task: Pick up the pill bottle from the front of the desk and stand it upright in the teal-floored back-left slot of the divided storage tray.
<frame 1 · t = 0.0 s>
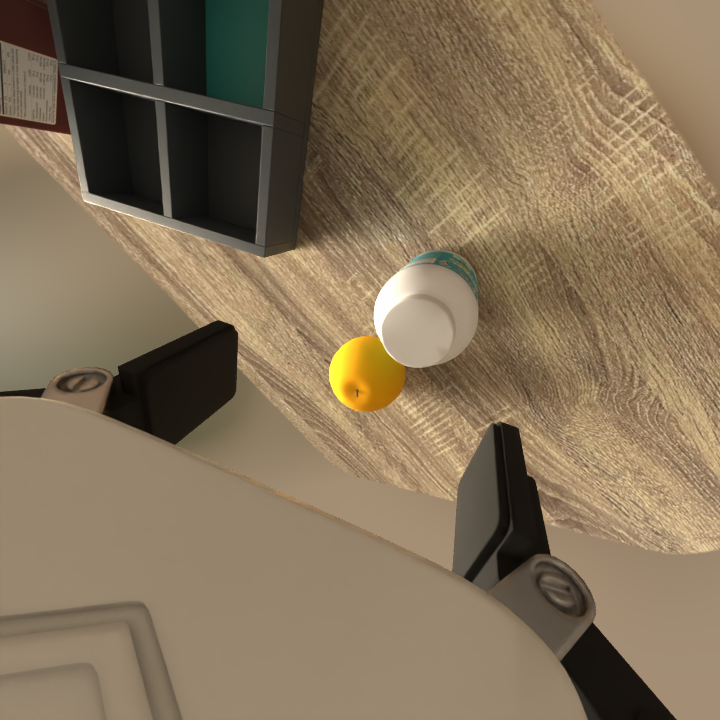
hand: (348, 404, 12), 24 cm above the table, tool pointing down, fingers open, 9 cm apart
pill bottle: (438, 286, 32), on the table
supplement box: (33, 45, 35), on the table
divided storage tray: (210, 109, 32), on the table
apple: (376, 359, 38), on the table
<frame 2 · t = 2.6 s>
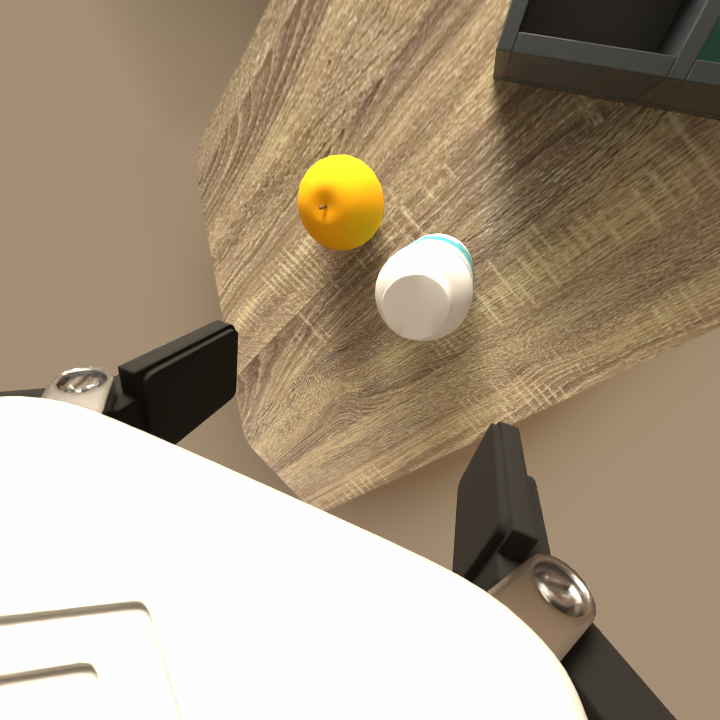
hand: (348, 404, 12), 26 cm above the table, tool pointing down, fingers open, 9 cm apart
pill bottle: (436, 271, 34), on the table
apple: (353, 204, 34), on the table
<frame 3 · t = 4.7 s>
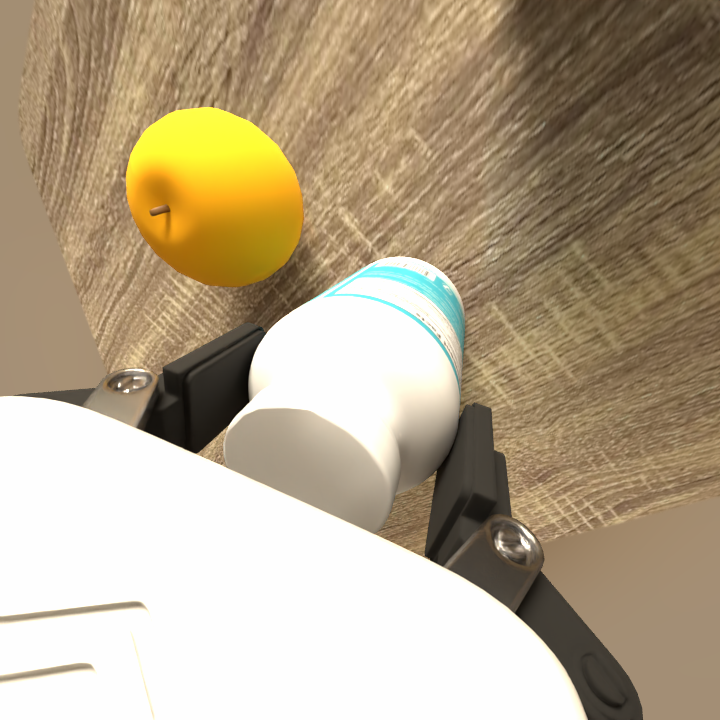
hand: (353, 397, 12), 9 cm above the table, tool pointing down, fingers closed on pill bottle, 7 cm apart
pill bottle: (403, 317, 20), on the table, touching gripper
apple: (263, 205, 20), on the table
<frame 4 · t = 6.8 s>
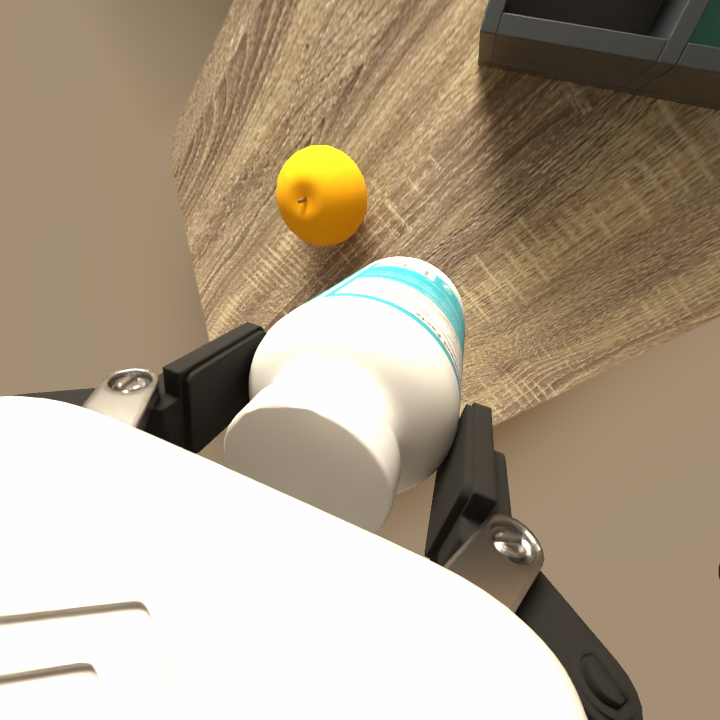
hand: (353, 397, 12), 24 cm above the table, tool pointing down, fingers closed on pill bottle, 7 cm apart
pill bottle: (403, 316, 20), point 15 cm above the table, touching gripper
apple: (336, 198, 32), on the table
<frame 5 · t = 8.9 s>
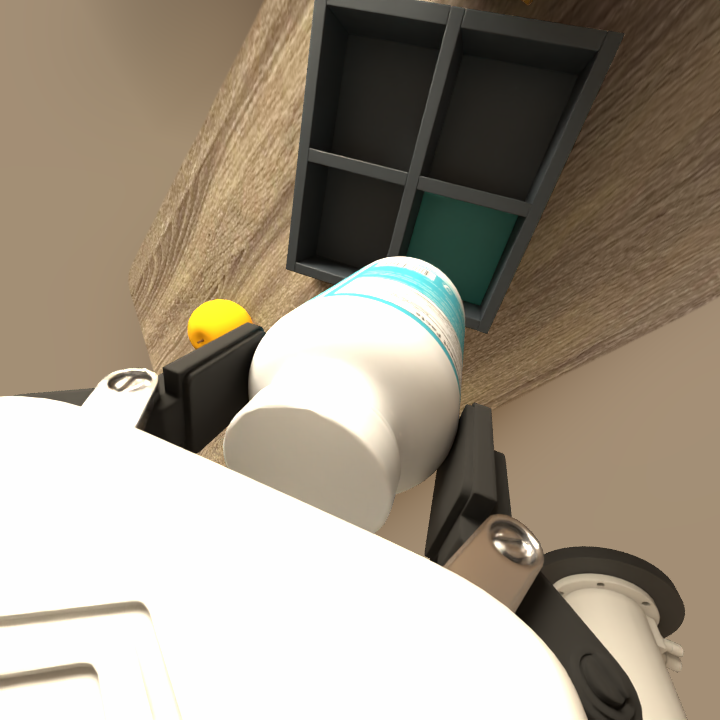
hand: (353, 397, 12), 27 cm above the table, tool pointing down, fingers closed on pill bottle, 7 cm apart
pill bottle: (403, 316, 20), point 18 cm above the table, touching gripper
divided storage tray: (422, 183, 32), on the table
apple: (238, 321, 47), on the table
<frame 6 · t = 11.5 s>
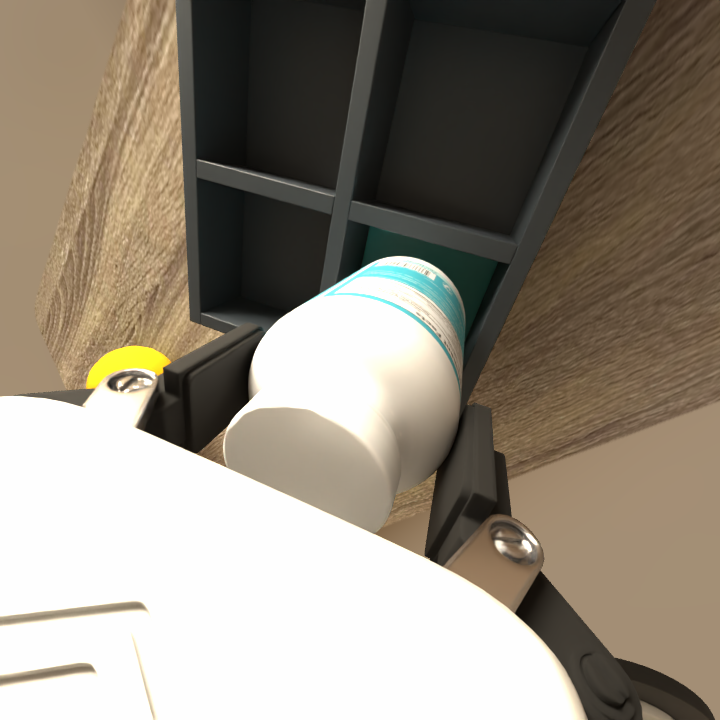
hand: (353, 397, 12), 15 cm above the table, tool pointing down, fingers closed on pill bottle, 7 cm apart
pill bottle: (403, 316, 20), point 6 cm above the table, touching gripper
divided storage tray: (370, 206, 23), on the table
apple: (164, 369, 38), on the table
when the fingers open (11 cm above the table, at t = 13.3 s): pill bottle stays where it is, resting on divided storage tray.
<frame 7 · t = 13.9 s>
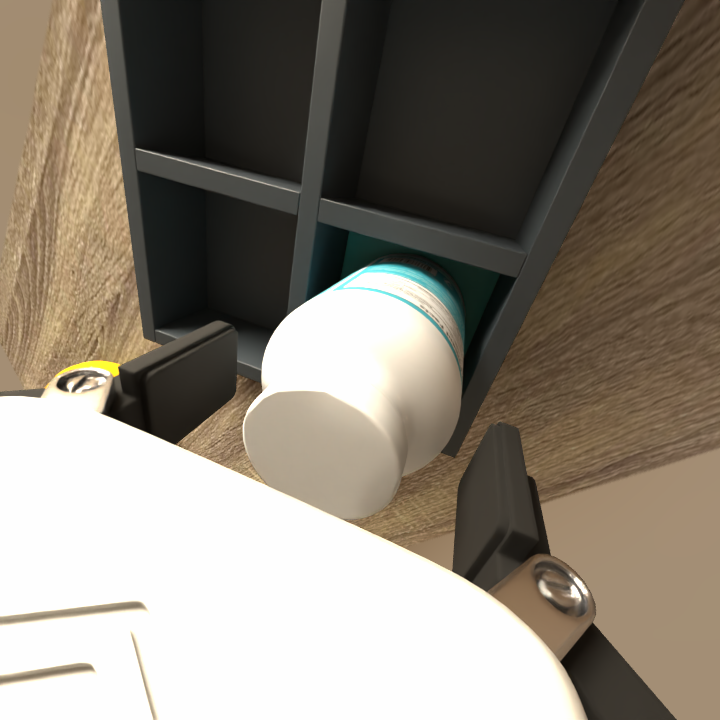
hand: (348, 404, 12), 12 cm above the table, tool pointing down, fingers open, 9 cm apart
pill bottle: (405, 311, 21), point 1 cm above the table, touching divided storage tray
divided storage tray: (351, 204, 20), on the table
apple: (132, 384, 34), on the table
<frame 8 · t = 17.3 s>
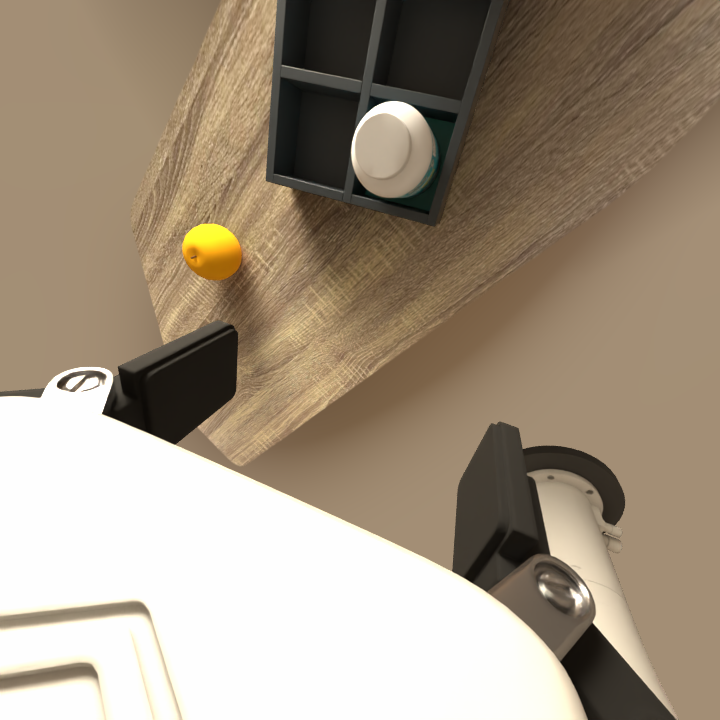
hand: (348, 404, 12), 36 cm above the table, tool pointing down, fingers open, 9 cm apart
pill bottle: (409, 162, 39), point 1 cm above the table, touching divided storage tray
divided storage tray: (381, 103, 38), on the table
apple: (228, 249, 52), on the table
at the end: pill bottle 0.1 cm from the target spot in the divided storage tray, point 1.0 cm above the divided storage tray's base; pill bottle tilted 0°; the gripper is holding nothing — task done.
